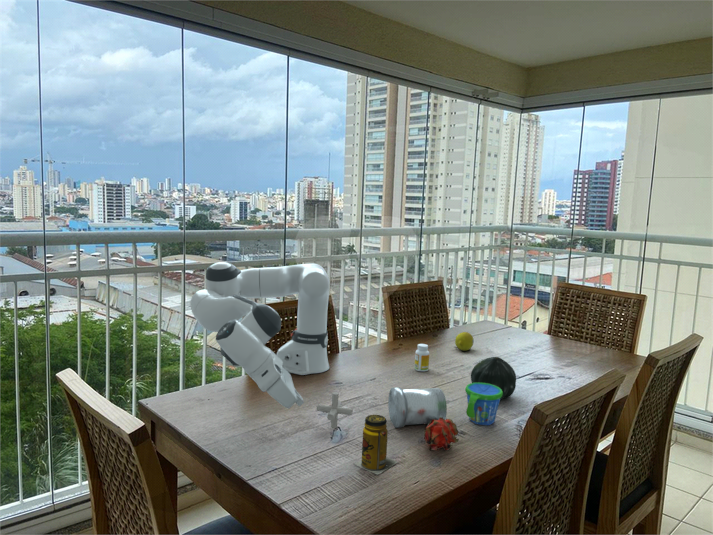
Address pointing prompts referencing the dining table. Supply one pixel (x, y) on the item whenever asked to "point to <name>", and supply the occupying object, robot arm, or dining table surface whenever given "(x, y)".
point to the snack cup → (482, 402)
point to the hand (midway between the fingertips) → (301, 402)
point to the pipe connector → (334, 409)
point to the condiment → (375, 445)
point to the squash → (495, 375)
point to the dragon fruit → (441, 434)
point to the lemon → (464, 341)
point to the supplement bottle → (422, 358)
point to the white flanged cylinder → (416, 406)
